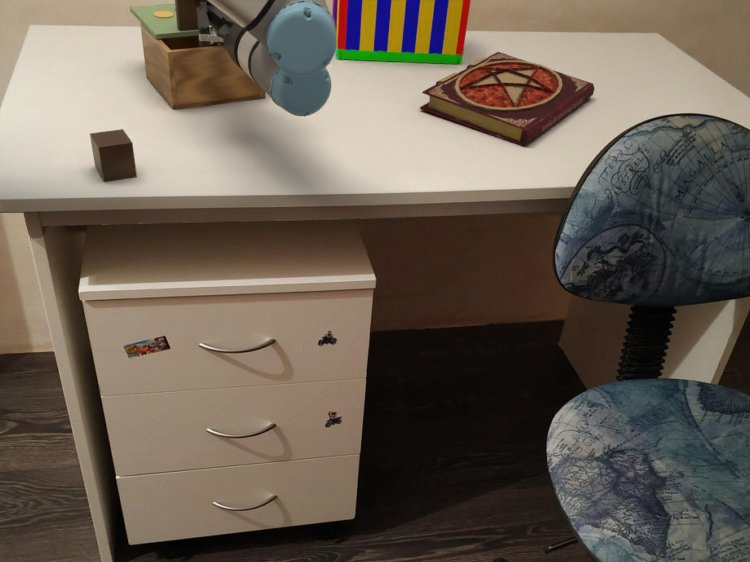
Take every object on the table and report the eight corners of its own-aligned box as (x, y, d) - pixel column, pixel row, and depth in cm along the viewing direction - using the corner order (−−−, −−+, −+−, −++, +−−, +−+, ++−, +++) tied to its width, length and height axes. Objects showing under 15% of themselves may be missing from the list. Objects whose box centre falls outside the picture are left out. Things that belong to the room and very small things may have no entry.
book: (525, 150, 130) (532, 121, 127) (415, 109, 137) (419, 80, 134) (590, 101, 149) (598, 74, 146) (491, 67, 156) (496, 41, 153)
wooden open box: (172, 109, 129) (167, 52, 123) (146, 77, 137) (140, 22, 132) (265, 98, 135) (264, 43, 130) (234, 68, 144) (232, 15, 138)
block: (103, 181, 109) (98, 147, 106) (95, 167, 112) (89, 133, 109) (136, 176, 111) (132, 142, 108) (127, 162, 114) (122, 128, 111)
